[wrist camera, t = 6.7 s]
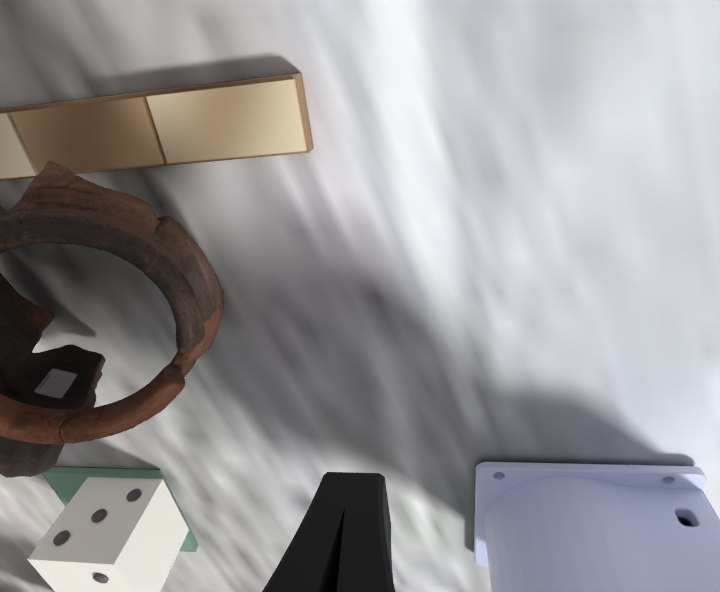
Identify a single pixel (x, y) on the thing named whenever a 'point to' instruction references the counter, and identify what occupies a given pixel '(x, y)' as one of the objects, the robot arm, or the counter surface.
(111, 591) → the die
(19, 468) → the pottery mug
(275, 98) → the counting strip
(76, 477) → the felt mat
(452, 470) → the counter surface
